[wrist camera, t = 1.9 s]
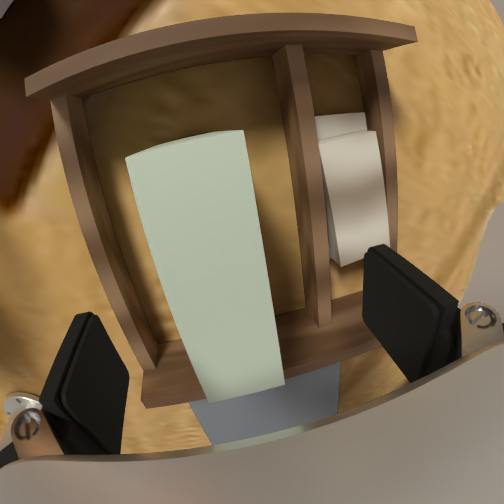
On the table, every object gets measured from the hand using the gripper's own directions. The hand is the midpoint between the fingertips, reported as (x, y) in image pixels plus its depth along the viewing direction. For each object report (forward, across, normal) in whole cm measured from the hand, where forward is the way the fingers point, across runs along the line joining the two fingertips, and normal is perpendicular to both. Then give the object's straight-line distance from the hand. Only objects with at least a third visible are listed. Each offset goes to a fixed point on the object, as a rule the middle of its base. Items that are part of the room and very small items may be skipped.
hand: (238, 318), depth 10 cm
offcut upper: (+14, -11, +1) cm, 18 cm away
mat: (+15, -1, +24) cm, 28 cm away
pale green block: (+15, +1, +1) cm, 15 cm away
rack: (+15, -3, +1) cm, 15 cm away
